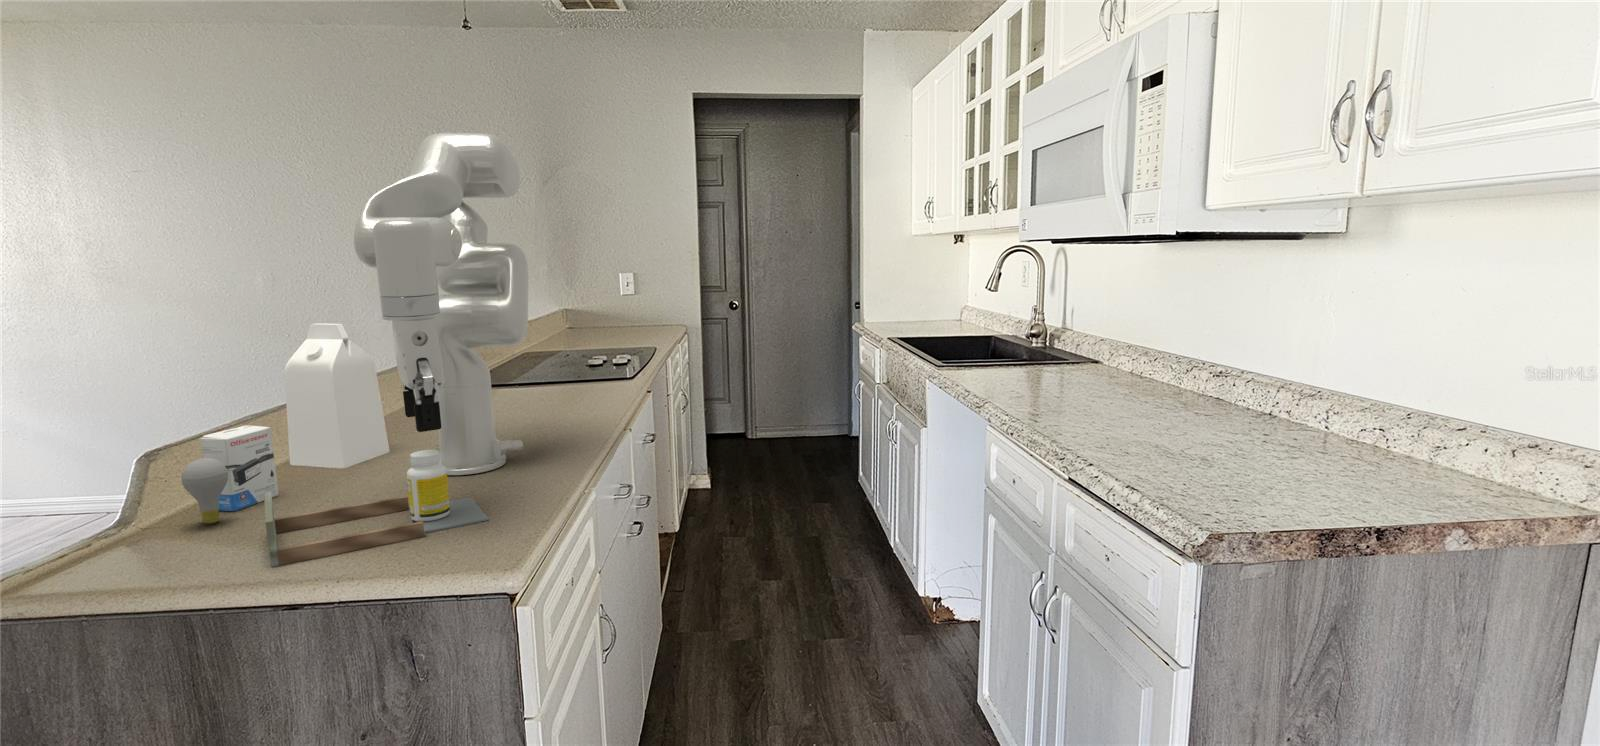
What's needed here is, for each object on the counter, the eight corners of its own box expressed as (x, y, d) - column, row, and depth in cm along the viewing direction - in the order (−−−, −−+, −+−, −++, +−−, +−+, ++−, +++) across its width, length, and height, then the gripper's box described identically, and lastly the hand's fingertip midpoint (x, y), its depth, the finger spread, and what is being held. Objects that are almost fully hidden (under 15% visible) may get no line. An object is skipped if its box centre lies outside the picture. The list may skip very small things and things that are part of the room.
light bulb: (205, 532, 113) (195, 465, 111) (179, 528, 115) (169, 461, 113) (243, 519, 118) (234, 455, 116) (218, 515, 120) (209, 452, 118)
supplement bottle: (458, 512, 119) (453, 449, 118) (431, 524, 114) (425, 459, 113) (430, 508, 121) (424, 446, 119) (402, 520, 116) (395, 456, 114)
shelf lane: (408, 508, 122) (404, 470, 121) (424, 536, 110) (420, 495, 109) (269, 533, 112) (264, 492, 111) (271, 567, 100) (265, 522, 99)
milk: (389, 452, 156) (376, 321, 151) (344, 468, 145) (328, 327, 140) (338, 449, 158) (324, 320, 154) (290, 465, 147) (272, 326, 143)
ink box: (234, 512, 121) (224, 438, 119) (207, 510, 122) (197, 437, 120) (280, 495, 130) (271, 425, 128) (255, 493, 131) (246, 424, 129)
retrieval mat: (471, 499, 126) (470, 497, 126) (489, 520, 117) (489, 518, 117) (409, 510, 121) (409, 508, 121) (423, 533, 112) (422, 531, 112)
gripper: (451, 311, 107) (463, 432, 111) (428, 299, 121) (439, 407, 125) (390, 316, 103) (404, 441, 107) (373, 303, 117) (386, 414, 121)
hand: (423, 422), depth 116 cm, fingers open, 9 cm apart
